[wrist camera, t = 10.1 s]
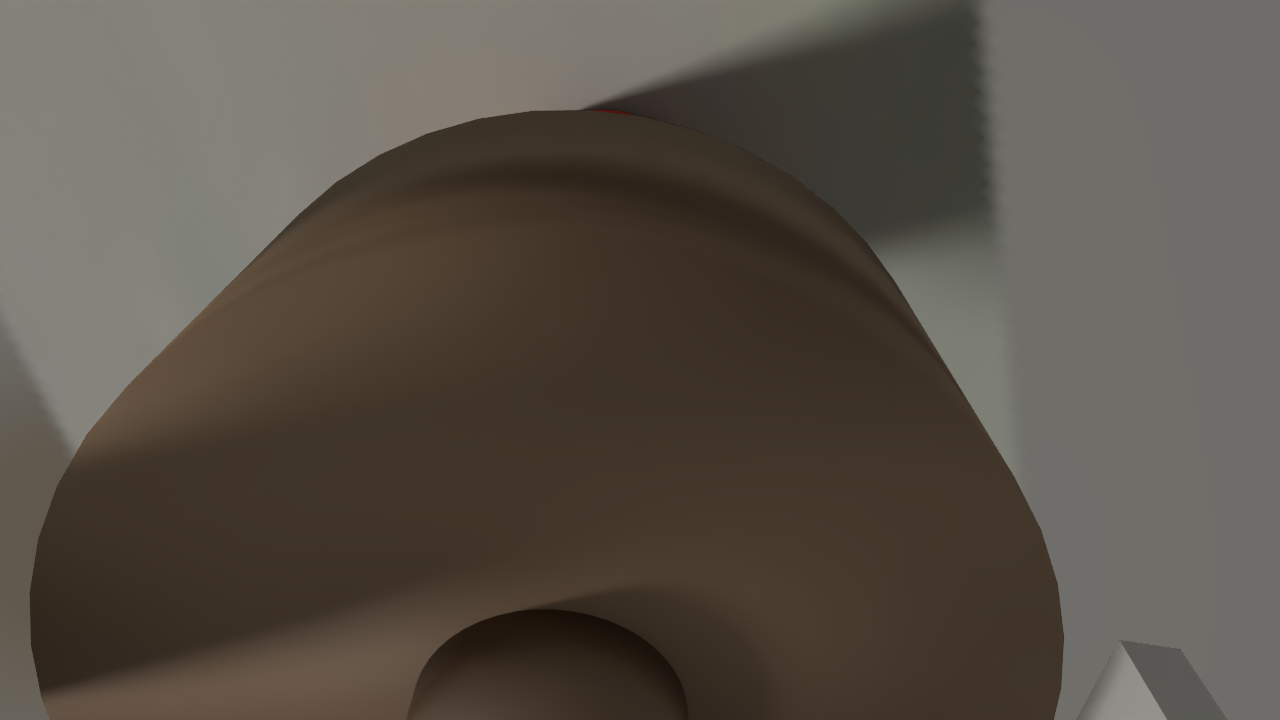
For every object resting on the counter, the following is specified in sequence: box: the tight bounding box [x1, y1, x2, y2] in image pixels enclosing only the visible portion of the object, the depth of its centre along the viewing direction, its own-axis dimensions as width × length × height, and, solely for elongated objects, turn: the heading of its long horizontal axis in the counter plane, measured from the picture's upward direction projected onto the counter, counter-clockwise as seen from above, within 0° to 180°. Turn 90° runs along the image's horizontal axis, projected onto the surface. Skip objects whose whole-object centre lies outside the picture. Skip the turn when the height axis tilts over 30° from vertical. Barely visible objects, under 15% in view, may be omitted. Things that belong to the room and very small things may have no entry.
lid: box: [30, 110, 1064, 720], centre depth 13 cm, size 11×11×6 cm
